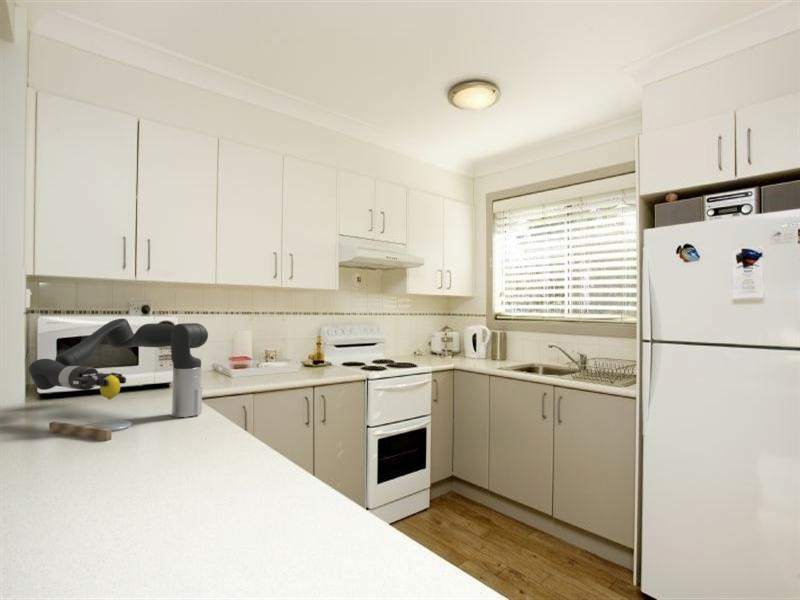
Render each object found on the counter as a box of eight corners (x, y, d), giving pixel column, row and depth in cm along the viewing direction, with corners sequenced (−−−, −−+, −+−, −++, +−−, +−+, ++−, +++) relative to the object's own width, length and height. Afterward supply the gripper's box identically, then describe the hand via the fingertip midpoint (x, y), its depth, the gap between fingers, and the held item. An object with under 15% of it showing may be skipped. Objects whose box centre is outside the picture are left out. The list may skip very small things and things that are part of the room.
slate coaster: (137, 422, 150) (137, 420, 150) (122, 432, 139) (122, 429, 139) (97, 423, 148) (97, 421, 148) (79, 433, 136) (79, 431, 136)
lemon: (109, 402, 140) (110, 376, 140) (95, 400, 142) (96, 375, 142) (124, 398, 146) (124, 374, 146) (109, 397, 147) (110, 373, 147)
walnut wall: (49, 432, 137) (49, 422, 137) (54, 431, 139) (54, 421, 139) (106, 440, 130) (106, 430, 130) (111, 439, 131) (111, 429, 131)
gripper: (56, 369, 142) (95, 372, 136) (99, 363, 155) (136, 367, 150) (55, 392, 141) (94, 397, 136) (99, 385, 155) (135, 389, 150)
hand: (116, 381), depth 143 cm, fingers closed on lemon, 5 cm apart
